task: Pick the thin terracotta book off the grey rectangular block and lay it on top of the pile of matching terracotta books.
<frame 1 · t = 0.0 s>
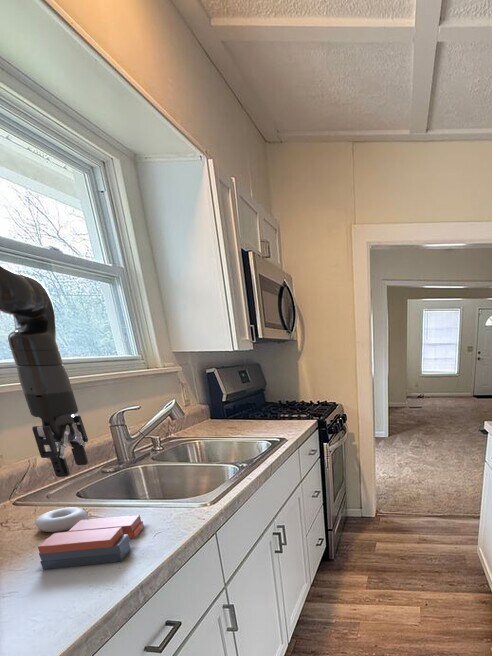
hand: (73, 470, 84), 17 cm above the countertop, tool pointing down, fingers open, 8 cm apart
terracotta books: (110, 535, 93), on the countertop
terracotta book: (83, 543, 81), point 4 cm above the countertop, touching grey rectangular block
grey rectangular block: (88, 558, 83), on the countertop, touching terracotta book
donut: (64, 526, 98), on the countertop
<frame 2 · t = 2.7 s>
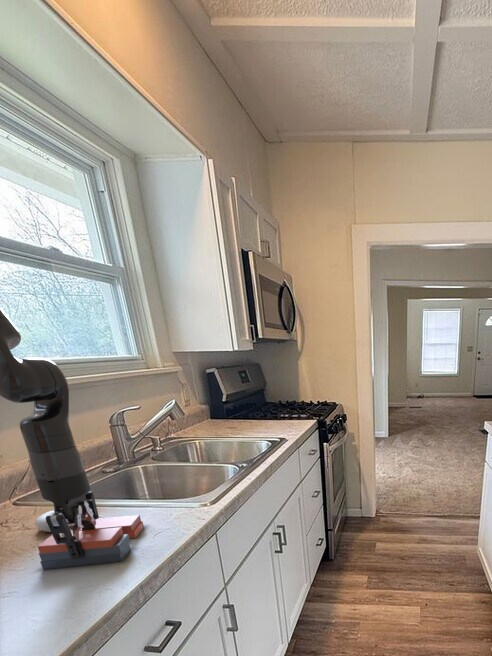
hand: (86, 549, 82), 2 cm above the countertop, tool pointing down, fingers closed on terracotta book, 6 cm apart
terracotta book: (83, 543, 81), point 4 cm above the countertop, touching grey rectangular block, gripper
everything else where it was.
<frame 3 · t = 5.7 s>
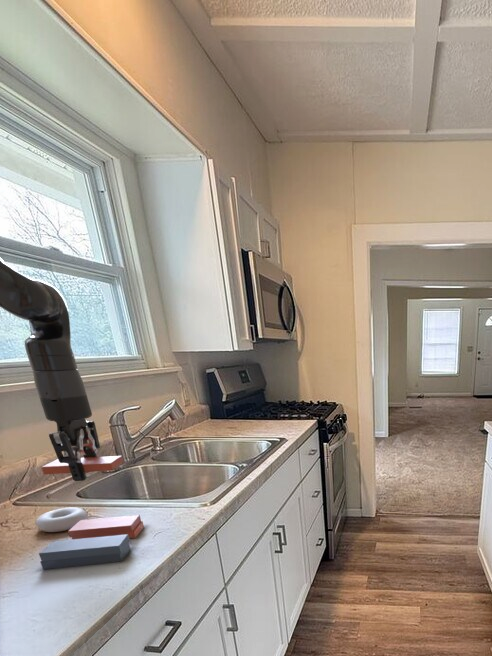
hand: (87, 475, 85), 15 cm above the countertop, tool pointing down, fingers closed on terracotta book, 6 cm apart
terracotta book: (85, 468, 85), point 17 cm above the countertop, touching gripper
grey rectangular block: (89, 559, 83), on the countertop
everything else where it was.
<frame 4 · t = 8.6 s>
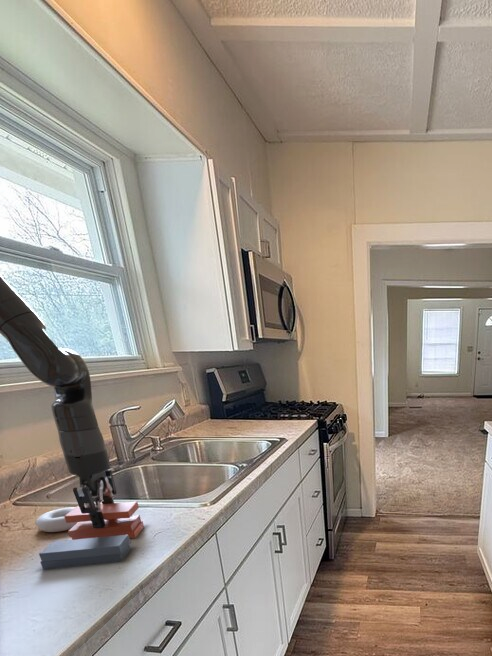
hand: (105, 521, 92), 4 cm above the countertop, tool pointing down, fingers closed on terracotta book, 6 cm apart
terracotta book: (104, 515, 91), point 5 cm above the countertop, touching gripper
everything else where it was.
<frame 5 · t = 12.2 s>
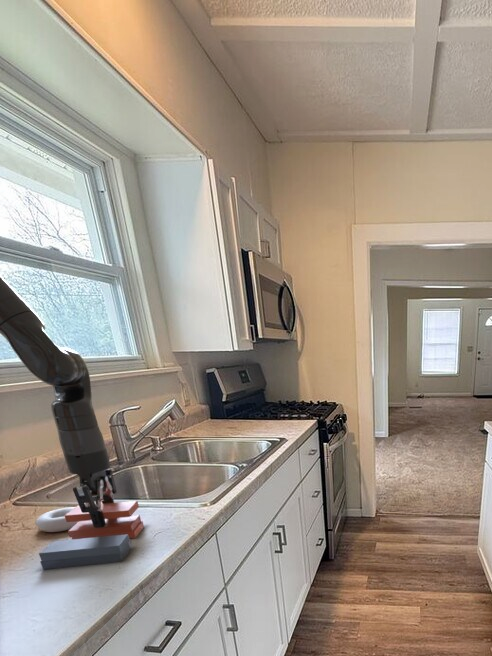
hand: (106, 520, 91), 4 cm above the countertop, tool pointing down, fingers closed on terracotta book, 6 cm apart
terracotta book: (104, 514, 91), point 5 cm above the countertop, touching gripper
everything else where it was.
when the fingers open (4 cm above the countertop, at t = 15.2 s): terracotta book drops 2 cm, resting on terracotta books.
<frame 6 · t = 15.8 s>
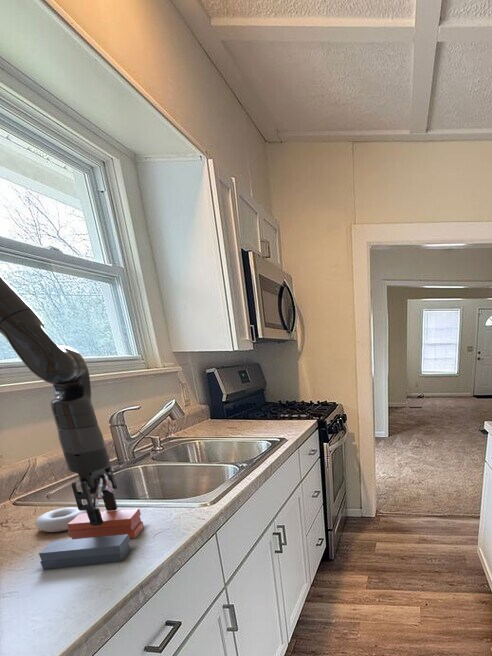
hand: (105, 517, 91), 5 cm above the countertop, tool pointing down, fingers open, 8 cm apart
terracotta books: (110, 535, 93), on the countertop, touching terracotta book
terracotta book: (106, 522, 92), point 3 cm above the countertop, touching terracotta books
everything else where it was.
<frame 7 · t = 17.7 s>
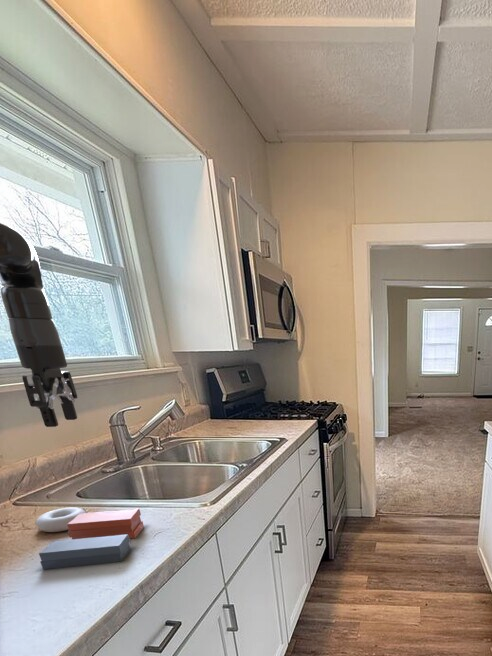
hand: (62, 422, 89), 25 cm above the countertop, tool pointing down, fingers open, 8 cm apart
nothing on the countertop moved.
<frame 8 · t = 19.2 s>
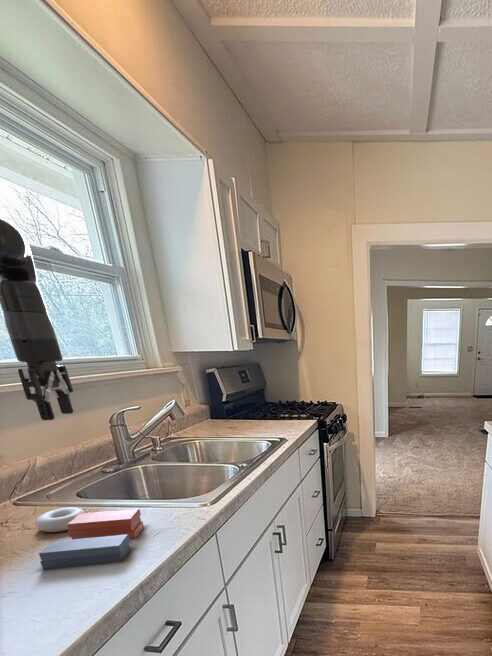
hand: (58, 416, 89), 26 cm above the countertop, tool pointing down, fingers open, 8 cm apart
nothing on the countertop moved.
at the end: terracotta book 0.1 cm off-centre on the terracotta books, point 3.2 cm above the terracotta books's base; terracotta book tilted 0°; the gripper is holding nothing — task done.
